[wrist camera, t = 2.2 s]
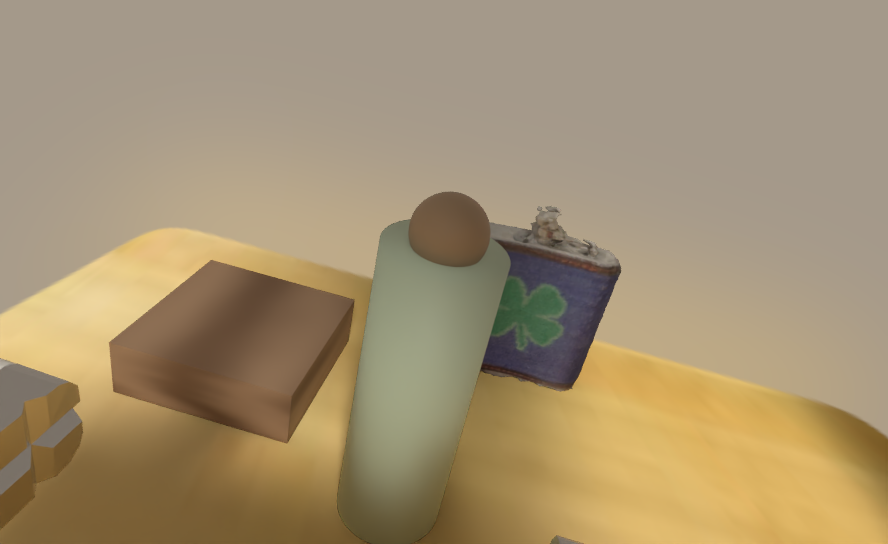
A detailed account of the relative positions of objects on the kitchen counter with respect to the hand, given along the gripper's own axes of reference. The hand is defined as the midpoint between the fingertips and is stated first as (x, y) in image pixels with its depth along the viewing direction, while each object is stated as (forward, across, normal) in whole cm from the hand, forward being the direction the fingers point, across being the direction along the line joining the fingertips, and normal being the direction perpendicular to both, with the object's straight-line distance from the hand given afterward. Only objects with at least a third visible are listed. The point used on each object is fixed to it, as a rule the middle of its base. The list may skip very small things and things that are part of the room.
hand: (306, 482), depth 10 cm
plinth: (+18, +9, +14) cm, 25 cm away
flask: (+24, -5, +14) cm, 29 cm away
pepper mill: (+12, -1, +14) cm, 18 cm away
